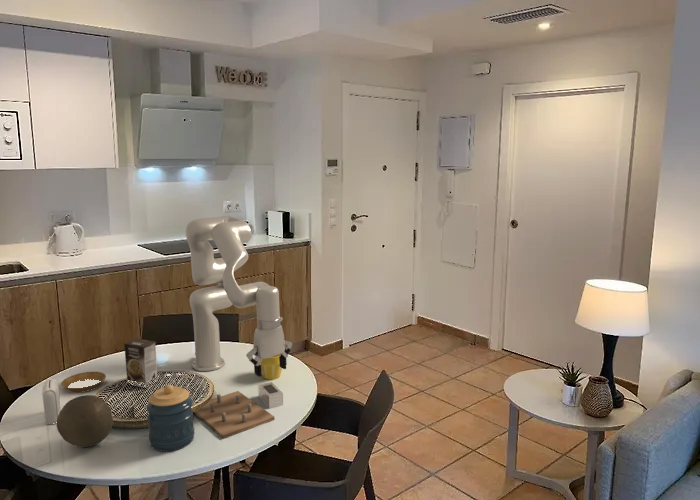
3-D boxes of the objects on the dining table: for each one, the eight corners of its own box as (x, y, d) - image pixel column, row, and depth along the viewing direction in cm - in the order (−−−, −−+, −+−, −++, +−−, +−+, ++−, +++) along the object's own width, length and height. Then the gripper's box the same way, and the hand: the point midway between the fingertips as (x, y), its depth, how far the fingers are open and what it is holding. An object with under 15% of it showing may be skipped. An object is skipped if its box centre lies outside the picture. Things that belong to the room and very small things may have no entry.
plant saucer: (51, 392, 192) (51, 385, 192) (83, 375, 206) (82, 369, 206) (85, 397, 188) (84, 390, 188) (115, 380, 202) (114, 374, 201)
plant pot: (288, 379, 202) (288, 354, 200) (261, 383, 198) (260, 358, 197) (281, 368, 212) (281, 345, 210) (255, 372, 208) (254, 348, 206)
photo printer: (46, 412, 177) (42, 376, 175) (61, 409, 179) (57, 374, 177) (44, 426, 168) (40, 389, 166) (60, 423, 170) (56, 386, 168)
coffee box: (126, 385, 197) (123, 343, 194) (139, 378, 203) (136, 337, 200) (146, 389, 194) (143, 346, 191) (158, 382, 200) (155, 340, 197)
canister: (195, 448, 156) (191, 391, 153) (147, 455, 152) (143, 397, 149) (194, 426, 168) (191, 373, 165) (150, 432, 165) (146, 378, 161)
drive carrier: (258, 397, 188) (258, 384, 187) (272, 393, 191) (271, 381, 190) (269, 409, 180) (269, 395, 179) (283, 405, 182) (282, 392, 181)
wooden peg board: (189, 409, 179) (189, 399, 179) (238, 393, 191) (237, 384, 190) (223, 438, 161) (222, 428, 161) (274, 419, 173) (274, 409, 172)
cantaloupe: (79, 431, 165) (74, 386, 162) (123, 434, 164) (119, 388, 161) (49, 457, 151) (44, 408, 149) (97, 460, 150) (92, 411, 147)
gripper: (284, 315, 188) (286, 362, 191) (240, 326, 177) (242, 375, 180) (296, 320, 182) (298, 368, 185) (251, 331, 172) (254, 382, 175)
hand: (270, 371), depth 183 cm, fingers open, 9 cm apart
